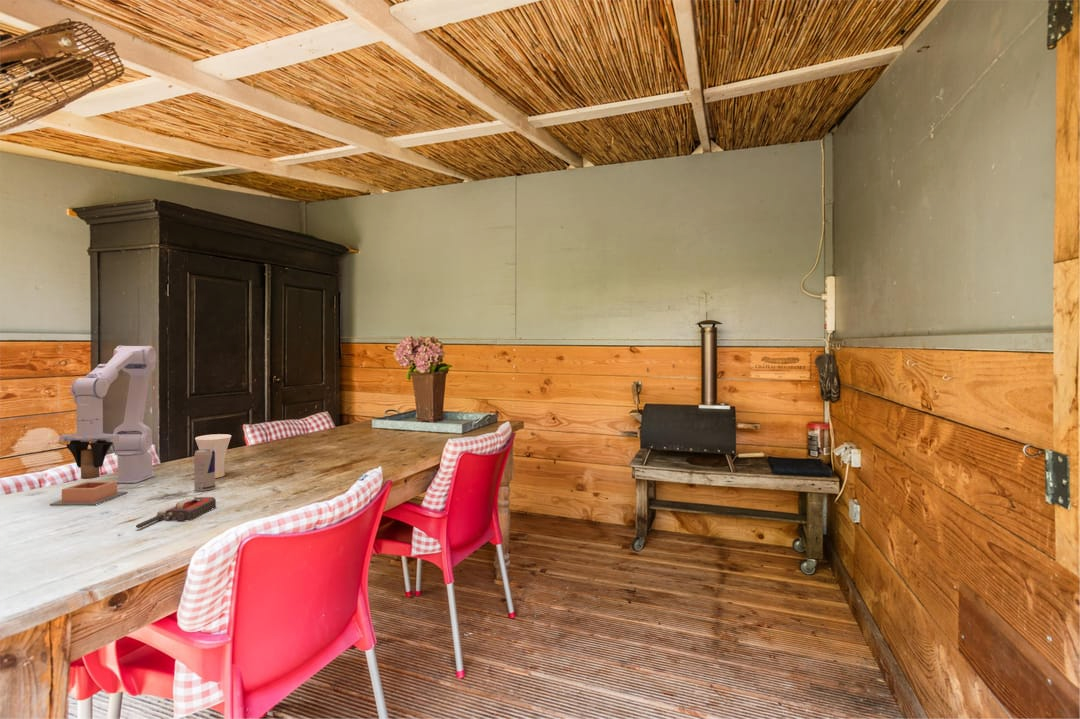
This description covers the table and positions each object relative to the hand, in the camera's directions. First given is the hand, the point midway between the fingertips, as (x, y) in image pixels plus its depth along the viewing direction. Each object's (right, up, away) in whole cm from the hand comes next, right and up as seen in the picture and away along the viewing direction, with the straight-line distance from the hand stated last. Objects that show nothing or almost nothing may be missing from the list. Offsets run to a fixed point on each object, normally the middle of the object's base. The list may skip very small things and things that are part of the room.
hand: (90, 466), depth 149 cm
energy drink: (+25, -10, +12) cm, 29 cm away
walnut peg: (0, -3, 0) cm, 3 cm away
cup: (+18, -9, +28) cm, 34 cm away
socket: (0, -9, 0) cm, 9 cm away
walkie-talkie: (+35, -11, -14) cm, 39 cm away
